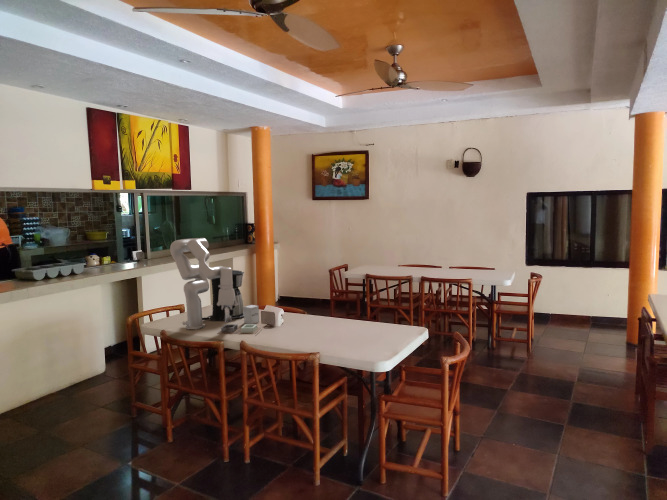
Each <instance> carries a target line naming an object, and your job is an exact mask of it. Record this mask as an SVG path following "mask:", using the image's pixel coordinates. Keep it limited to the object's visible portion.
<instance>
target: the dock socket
mask: <svg viewBox="0 0 667 500" xmlns="http://www.w3.org/2000/svg"><path fill="white" fill-rule="evenodd" d="M240 328H241V333H254V332H255V331H256V330H257V328H258V324H257V323H254V324H247V323H244V325H243V326H241V327H240Z"/></svg>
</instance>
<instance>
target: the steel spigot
mask: <svg viewBox="0 0 667 500" xmlns="http://www.w3.org/2000/svg"><path fill="white" fill-rule="evenodd" d="M230 309H231V308H230V306H224V311H225V320H224V323H225V324H227V323H231V322H232V319H231V316H230Z"/></svg>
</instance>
